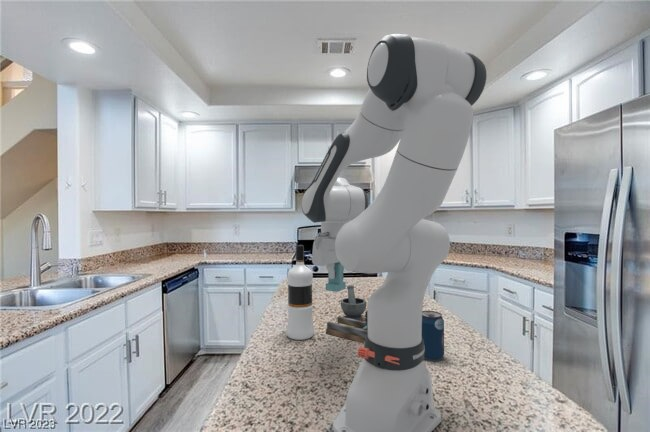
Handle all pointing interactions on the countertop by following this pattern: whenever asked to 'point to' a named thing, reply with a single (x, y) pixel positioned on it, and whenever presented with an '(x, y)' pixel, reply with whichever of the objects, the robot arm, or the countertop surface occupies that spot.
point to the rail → (349, 328)
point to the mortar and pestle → (353, 305)
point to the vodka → (300, 299)
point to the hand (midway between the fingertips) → (336, 277)
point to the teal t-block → (336, 280)
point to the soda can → (433, 335)
